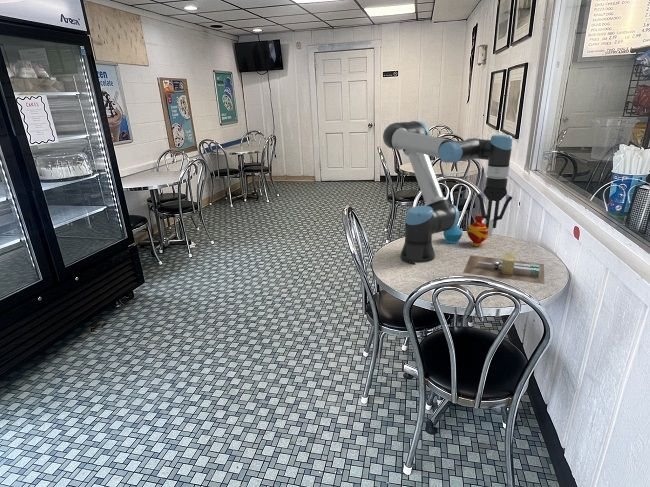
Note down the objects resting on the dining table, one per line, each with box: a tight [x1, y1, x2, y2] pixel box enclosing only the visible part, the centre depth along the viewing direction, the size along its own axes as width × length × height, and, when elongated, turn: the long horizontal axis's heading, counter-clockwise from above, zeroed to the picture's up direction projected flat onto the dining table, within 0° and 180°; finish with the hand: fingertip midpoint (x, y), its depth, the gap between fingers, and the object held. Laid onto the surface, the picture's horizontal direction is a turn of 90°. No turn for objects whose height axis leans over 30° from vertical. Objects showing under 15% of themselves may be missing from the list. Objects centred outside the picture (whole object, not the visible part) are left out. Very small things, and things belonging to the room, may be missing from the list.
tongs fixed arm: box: [477, 261, 539, 277], centre depth 158 cm, size 23×4×3 cm, turn 63°
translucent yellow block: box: [502, 252, 516, 275], centre depth 158 cm, size 4×9×6 cm, turn 153°
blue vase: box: [442, 224, 463, 244], centre depth 196 cm, size 9×9×15 cm
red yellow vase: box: [466, 213, 490, 247], centre depth 190 cm, size 10×10×15 cm
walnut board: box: [463, 255, 546, 285], centre depth 161 cm, size 29×21×1 cm
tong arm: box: [492, 260, 539, 269], centre depth 158 cm, size 17×4×3 cm, turn 67°
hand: (489, 235), depth 158 cm, fingers closed
